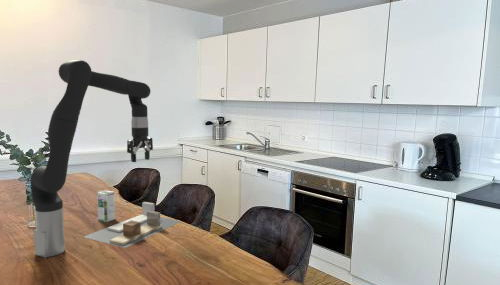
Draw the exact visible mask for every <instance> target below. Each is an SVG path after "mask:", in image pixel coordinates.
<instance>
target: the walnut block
mask: <svg viewBox="0 0 500 285" xmlns="http://www.w3.org/2000/svg"><path fill="white" fill-rule="evenodd" d="M139 234H141V222H137V221H132V220H131V221H129V222H126V223H124V224H123V235H124V236H129V237H134V236H136V235H139Z"/></svg>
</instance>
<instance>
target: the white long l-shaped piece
mask: <svg viewBox="0 0 500 285" xmlns="http://www.w3.org/2000/svg"><path fill="white" fill-rule="evenodd" d="M141 208H142V209H141V210H142V215H141V214H139V215H137V216H134V217H131V218H128V219H129V220H128V219H125V220H123V221H121V223H120V222H118V223H115V224H113V225H111V226H110V225H109V226H108V230H111V231H115V232H121V231H123V224H124V223H126V222H129V221H131V220H132V221H137V222H141V223H143V222H146V221H147V212H148V211H154V212H156V211H155V203H153V202H149V201H148V202H147V201H143V202H142V203H141Z"/></svg>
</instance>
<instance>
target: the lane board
mask: <svg viewBox="0 0 500 285" xmlns="http://www.w3.org/2000/svg"><path fill="white" fill-rule="evenodd" d="M140 215H142V214H140ZM129 219H130V218H128V219H127V220H129ZM121 222H122V221H121ZM121 222H119V223H121ZM181 222H182V221H180V220H176V219H170V218H164V217H161V216H160V225H162V228H159V229H157V230H155V231H153V232H151V233H149V234H146V235H144V236H142V237H140V238H138V239H136V240H133V241H131V242H129V243H127V244H125V245H118V244H114V243H110V241H109V240H111V239H113V238H115V237H118V236H120V235H122V234H123V231H121V232H115V231H111V230H108V227H109V226H108V227H105V228H103V229H100V230H97V231H95V232H93V233H90V234H87V235H85V236H83V238H85V239H89V240H91V241H92V240H94V241H97V242H100V243H104V244H108V245H113V246H116V247H120V248H124V249H126V248H128V247H130V246H133V245H135V244H137V243H139V242H141V241H143V240H145V239H147V238H149V237H151V236H154V235H157V234H158V233H160V232H162V231H165V230H166V229H168V228H169V229H170V228H171V227H173V226H175V225H177V224H180V223H181ZM146 224H147V221H146V222H143V223H141V226H144V225H146Z"/></svg>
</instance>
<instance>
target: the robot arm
mask: <svg viewBox="0 0 500 285" xmlns="http://www.w3.org/2000/svg"><path fill="white" fill-rule="evenodd" d="M58 76H59V78H60V79H61V81H63V83H65V84H66V89H65V92H64V94H63V97H62V98H61V100H60V101H59V102H58V104H57V105H56V107H55V108H54V110H53V111H52V114H51V116H50V121H49V124H48V129H47V135H48V144H49V155H48V159H47V160H48V161H47V163H46V165H42V166H38V167H37V168H35V169H34V170H33V171H32V174H31V177H30V191H31V198H32V203H33V205H34V208H35V209H34V210H35V211H34V212H35V229H34V231H33V237H34V238H33V239H34V240H33V241H34V255H35V256H38V257H42V258H45V259H46V258H49V257H55V256H57V255H60V254H61V255H62V253H64V252H65V251H66V247H65V246H66V245H65V226H64V222H65V221H64V202H63V201H64V200H62V198H61V197H60V196H59V194H58V192H59V191H60V190H62V188H63V187H64V185H65V183H66V180H67V175H68V174H67V173H68V167H69V160H70V155H71V150H72V147H73V141H74V137H75V135H76V134H75V133H76V132H77V127H78V122H79V118H80V114H81V110H82V106H83V102H84V99H85V95H86V93H87V90H88V87H92V88H93V87H94V88H98V89H102V90H105V91H109V92H112V93H116V94H120V95H124V96H125V95H126V96H128V99H129V104H130V107H131V121H130V122H131V137H132V139H127V141H126V142H127V143H126V144H127V145H126V152H127V153H128V154H130V161H131V162H132V163H137V152H138V151H139V150H140V149H143V150H144V160H147V161H148V160H150V156H151V155H150V152H151V151H153V150H154V145H153V137H149V119H148V106H147V105H146V104H145V103H143V101H142V99H147V98H149V96H150V95H151V88H150V86H149V85H148V84H146V83H145V82H142V81H136V80H130V79H127V78H124V77H121V76H118V75H115V74H108V73H101V72H97V71H93V70H92V67H91V66H90V64H89V63H88V62H87V61H85V60H83V59H82V60H81V59H79V60H78V59H77V60H68V61H65V62H62V63H61V65H59V67H58Z"/></svg>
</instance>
